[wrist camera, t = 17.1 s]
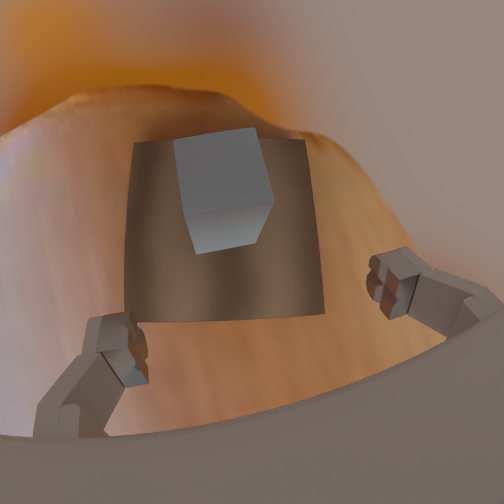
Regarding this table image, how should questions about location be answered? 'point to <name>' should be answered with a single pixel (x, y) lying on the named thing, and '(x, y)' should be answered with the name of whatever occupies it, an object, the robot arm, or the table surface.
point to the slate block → (223, 188)
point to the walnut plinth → (227, 260)
